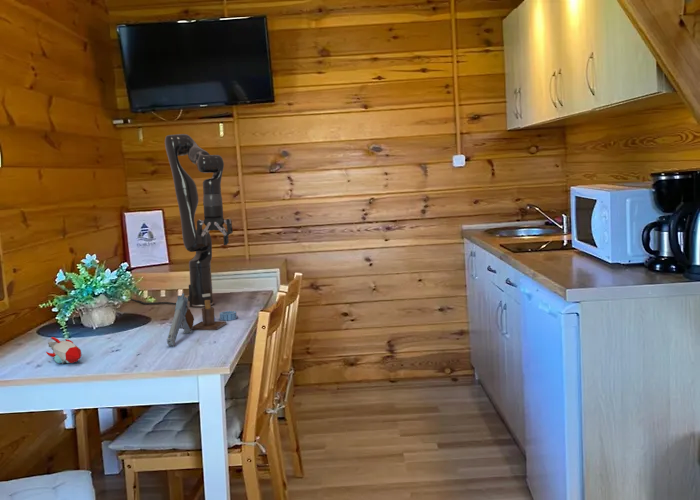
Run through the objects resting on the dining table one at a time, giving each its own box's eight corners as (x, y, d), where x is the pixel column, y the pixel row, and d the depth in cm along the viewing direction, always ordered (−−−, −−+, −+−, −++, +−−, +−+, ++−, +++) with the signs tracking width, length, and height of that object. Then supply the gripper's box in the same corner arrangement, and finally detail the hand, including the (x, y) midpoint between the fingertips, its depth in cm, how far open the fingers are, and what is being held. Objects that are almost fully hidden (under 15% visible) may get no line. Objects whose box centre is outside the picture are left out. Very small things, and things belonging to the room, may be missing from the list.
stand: (190, 329, 244) (189, 302, 243) (201, 323, 254) (199, 298, 253) (216, 329, 243) (215, 302, 242) (226, 323, 252) (225, 297, 251)
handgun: (196, 317, 246) (187, 287, 236) (183, 368, 226) (173, 337, 217) (186, 318, 246) (178, 287, 236) (172, 368, 226) (162, 337, 217)
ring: (217, 320, 259) (217, 314, 259) (223, 317, 265) (223, 310, 265) (233, 320, 258) (232, 314, 258) (238, 317, 264) (238, 310, 264)
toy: (41, 356, 213) (40, 335, 213) (65, 353, 218) (64, 332, 217) (61, 368, 197) (60, 345, 197) (86, 364, 202) (85, 342, 201)
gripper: (233, 204, 271) (235, 243, 272) (200, 205, 273) (202, 244, 275) (226, 204, 263) (229, 245, 265) (192, 206, 266) (195, 246, 267)
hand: (215, 245), depth 270 cm, fingers open, 8 cm apart
